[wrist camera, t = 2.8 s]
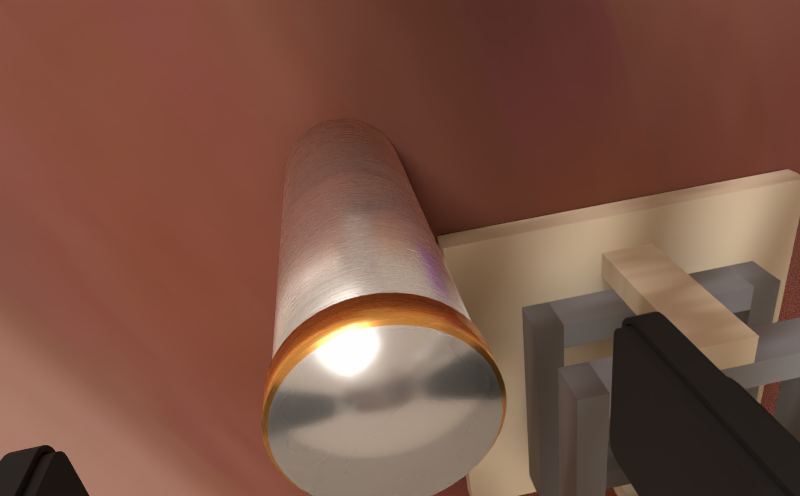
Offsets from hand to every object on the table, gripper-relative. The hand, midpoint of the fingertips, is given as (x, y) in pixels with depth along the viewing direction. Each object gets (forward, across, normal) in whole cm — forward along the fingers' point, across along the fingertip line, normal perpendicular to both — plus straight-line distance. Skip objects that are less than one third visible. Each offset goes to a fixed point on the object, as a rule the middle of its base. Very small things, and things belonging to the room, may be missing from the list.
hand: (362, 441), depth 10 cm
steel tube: (+12, -1, 0) cm, 12 cm away
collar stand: (+12, -11, +10) cm, 19 cm away
